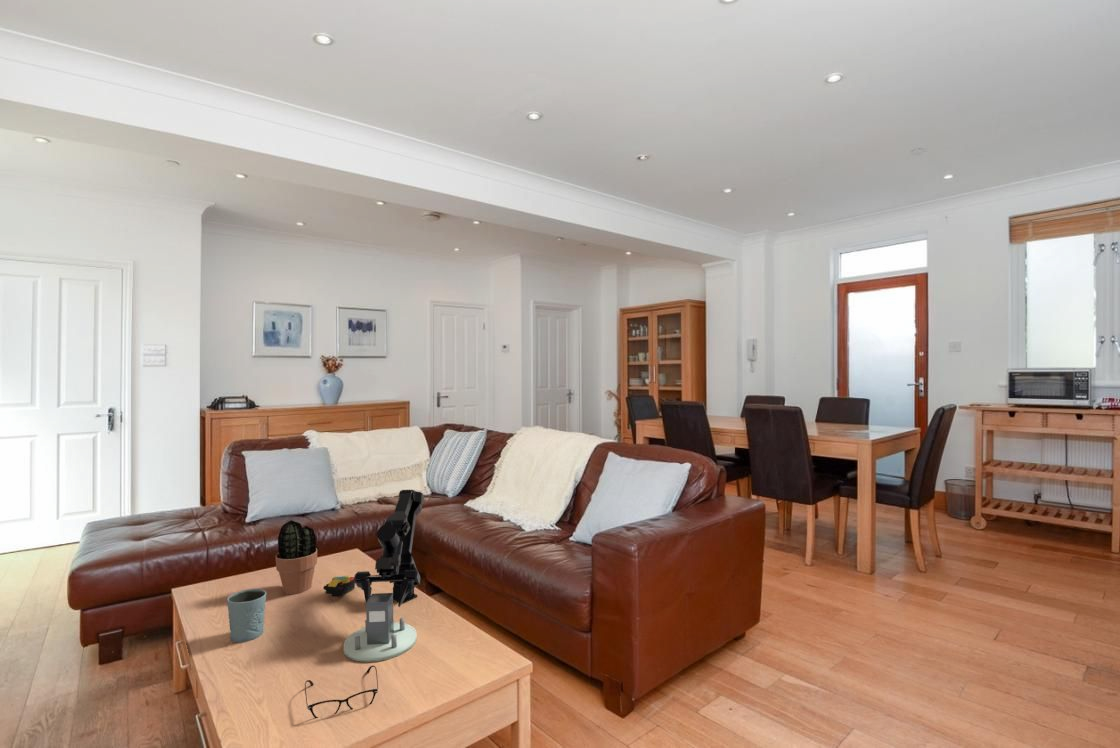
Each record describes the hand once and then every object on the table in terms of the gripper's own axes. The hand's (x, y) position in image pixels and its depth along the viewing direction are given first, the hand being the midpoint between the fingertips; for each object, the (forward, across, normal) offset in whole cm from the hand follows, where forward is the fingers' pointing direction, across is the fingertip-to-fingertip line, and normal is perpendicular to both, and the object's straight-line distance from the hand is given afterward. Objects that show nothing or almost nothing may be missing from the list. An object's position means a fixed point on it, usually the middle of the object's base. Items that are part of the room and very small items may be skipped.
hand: (383, 607), depth 162 cm
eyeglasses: (+26, -3, -13) cm, 29 cm away
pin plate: (+9, 0, +4) cm, 9 cm away
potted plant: (-20, -40, +34) cm, 56 cm away
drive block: (+8, 0, +3) cm, 8 cm away
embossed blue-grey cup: (+3, -41, +10) cm, 43 cm away
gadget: (-17, -23, +31) cm, 42 cm away
